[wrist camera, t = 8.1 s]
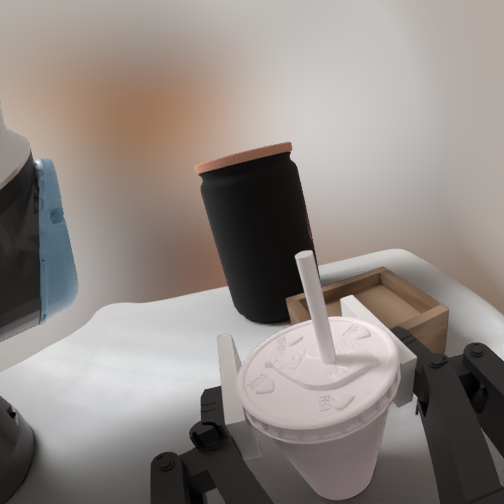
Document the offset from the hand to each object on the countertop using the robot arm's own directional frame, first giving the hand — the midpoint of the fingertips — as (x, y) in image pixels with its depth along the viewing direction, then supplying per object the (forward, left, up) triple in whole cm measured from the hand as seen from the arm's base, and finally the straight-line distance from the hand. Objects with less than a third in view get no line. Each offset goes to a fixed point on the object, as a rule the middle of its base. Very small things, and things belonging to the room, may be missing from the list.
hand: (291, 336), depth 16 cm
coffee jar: (+2, +19, -8) cm, 21 cm away
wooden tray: (+7, +6, -8) cm, 12 cm away
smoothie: (0, -5, -8) cm, 9 cm away
